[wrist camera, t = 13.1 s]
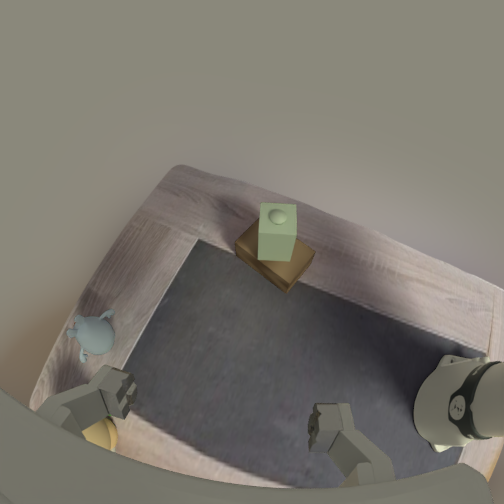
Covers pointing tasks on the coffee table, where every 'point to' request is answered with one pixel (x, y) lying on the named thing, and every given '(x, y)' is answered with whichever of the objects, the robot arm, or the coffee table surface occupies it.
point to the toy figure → (93, 334)
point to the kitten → (102, 434)
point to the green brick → (277, 231)
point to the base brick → (274, 271)
